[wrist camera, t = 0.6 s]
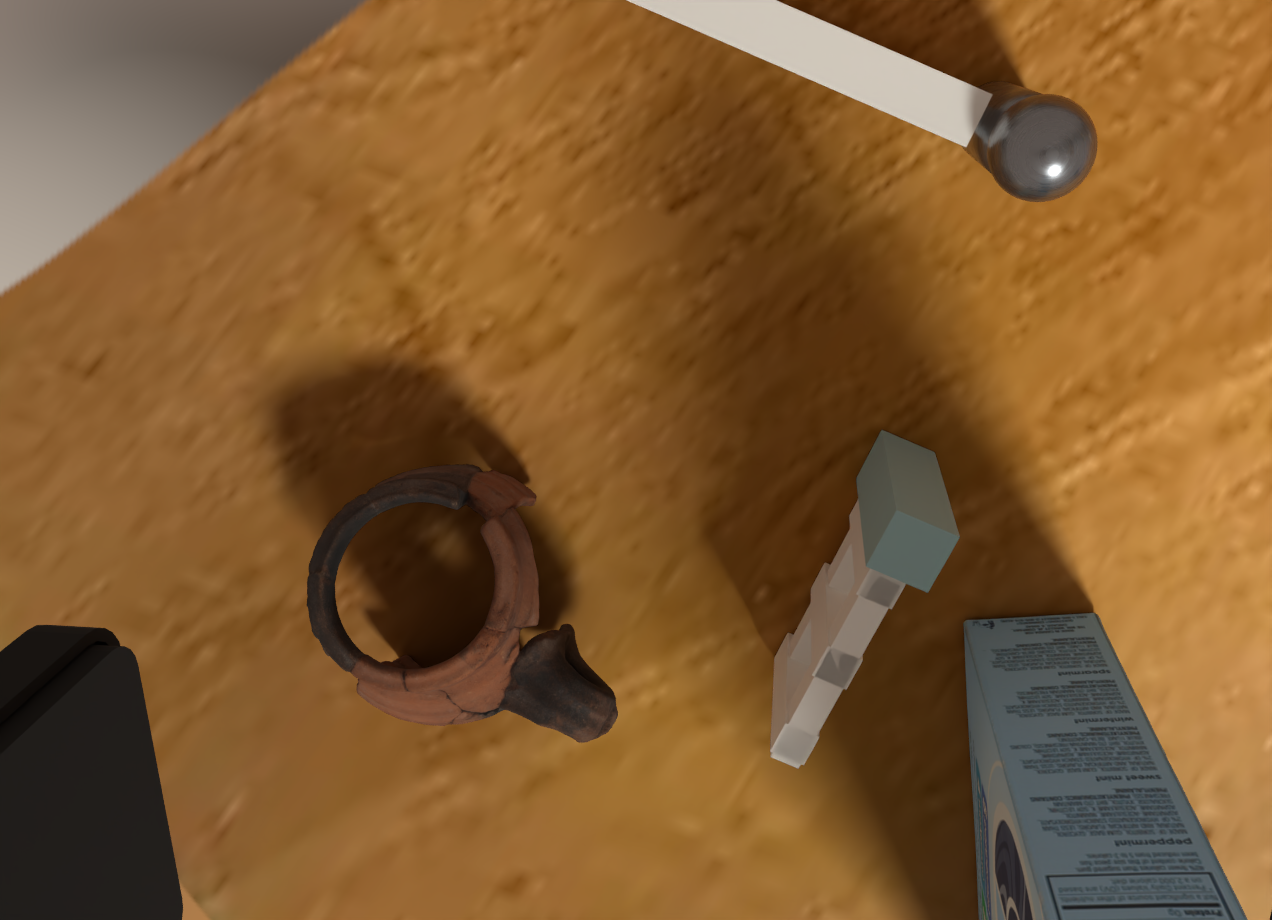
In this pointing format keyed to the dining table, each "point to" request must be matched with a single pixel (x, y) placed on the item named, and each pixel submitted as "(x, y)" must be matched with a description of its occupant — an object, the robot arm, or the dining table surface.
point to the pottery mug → (491, 664)
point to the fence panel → (827, 646)
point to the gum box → (1076, 785)
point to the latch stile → (905, 512)
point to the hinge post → (1033, 142)
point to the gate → (836, 61)
